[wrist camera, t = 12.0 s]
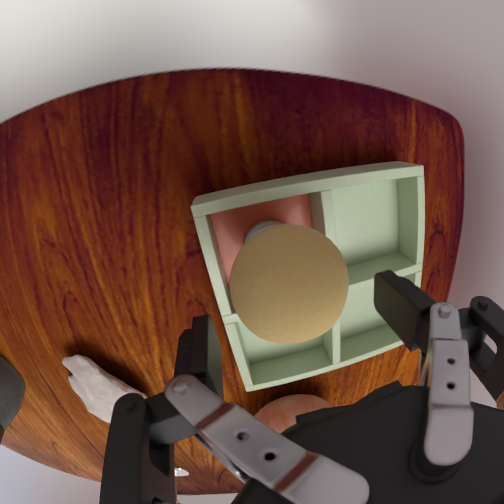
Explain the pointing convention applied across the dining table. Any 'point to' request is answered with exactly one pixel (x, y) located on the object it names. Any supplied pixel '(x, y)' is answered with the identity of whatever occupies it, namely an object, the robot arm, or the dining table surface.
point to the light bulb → (288, 282)
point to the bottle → (9, 394)
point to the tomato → (289, 410)
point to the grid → (346, 240)
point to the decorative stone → (96, 386)
